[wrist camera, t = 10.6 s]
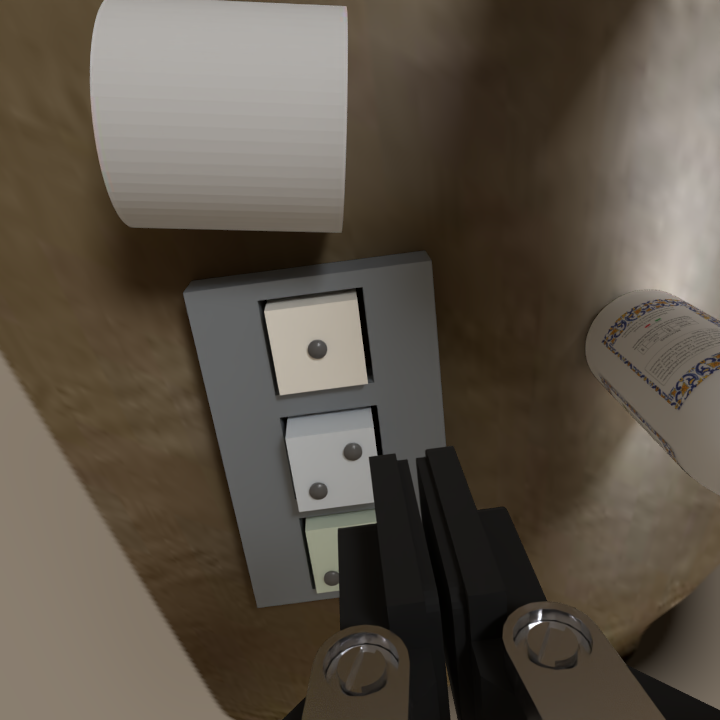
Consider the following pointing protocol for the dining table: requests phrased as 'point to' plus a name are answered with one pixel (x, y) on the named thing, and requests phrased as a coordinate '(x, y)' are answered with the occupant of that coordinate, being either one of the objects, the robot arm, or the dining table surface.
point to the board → (311, 397)
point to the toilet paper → (221, 113)
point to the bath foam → (664, 374)
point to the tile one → (316, 341)
